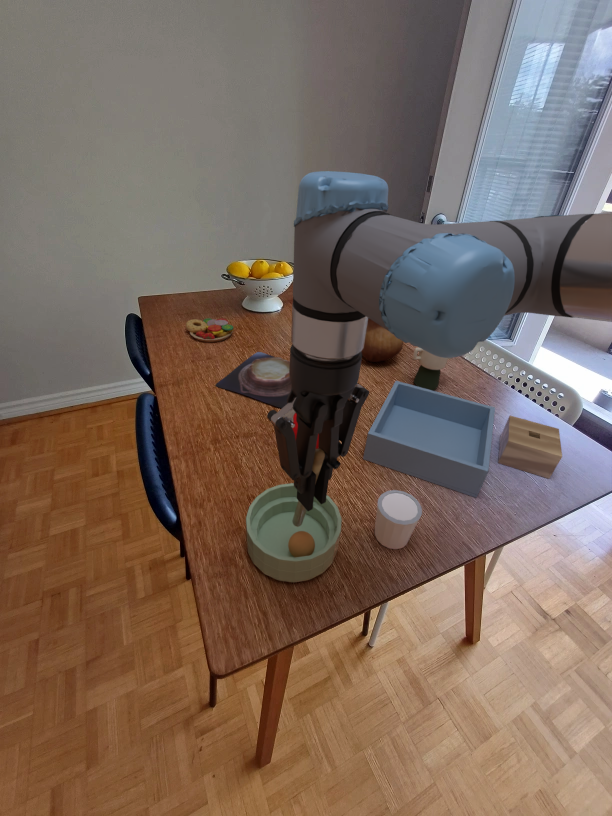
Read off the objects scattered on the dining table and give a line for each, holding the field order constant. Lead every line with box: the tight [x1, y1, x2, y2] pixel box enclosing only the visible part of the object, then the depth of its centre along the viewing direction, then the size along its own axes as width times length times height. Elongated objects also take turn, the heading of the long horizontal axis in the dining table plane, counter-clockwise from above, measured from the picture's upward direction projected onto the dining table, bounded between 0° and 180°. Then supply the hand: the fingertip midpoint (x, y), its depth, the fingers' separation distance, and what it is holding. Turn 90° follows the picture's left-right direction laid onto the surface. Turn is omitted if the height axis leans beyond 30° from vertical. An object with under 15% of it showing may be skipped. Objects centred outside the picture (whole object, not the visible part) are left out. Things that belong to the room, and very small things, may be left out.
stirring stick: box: [292, 448, 325, 527], centre depth 55 cm, size 2×2×18 cm
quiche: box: [215, 351, 291, 409], centre depth 102 cm, size 21×20×4 cm
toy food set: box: [185, 317, 234, 343], centre depth 121 cm, size 13×13×3 cm
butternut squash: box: [361, 318, 404, 363], centre depth 108 cm, size 14×13×25 cm
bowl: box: [245, 482, 343, 583], centre depth 61 cm, size 14×14×6 cm
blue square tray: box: [362, 380, 496, 499], centre depth 83 cm, size 22×22×7 cm
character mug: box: [412, 347, 454, 391], centre depth 101 cm, size 11×7×13 cm, turn 99°
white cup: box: [374, 489, 423, 550], centre depth 63 cm, size 7×7×7 cm
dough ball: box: [288, 531, 315, 557], centre depth 59 cm, size 4×4×4 cm
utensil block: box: [497, 415, 563, 480], centre depth 82 cm, size 10×10×6 cm
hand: (311, 500), depth 55 cm, fingers closed on stirring stick, 1 cm apart
